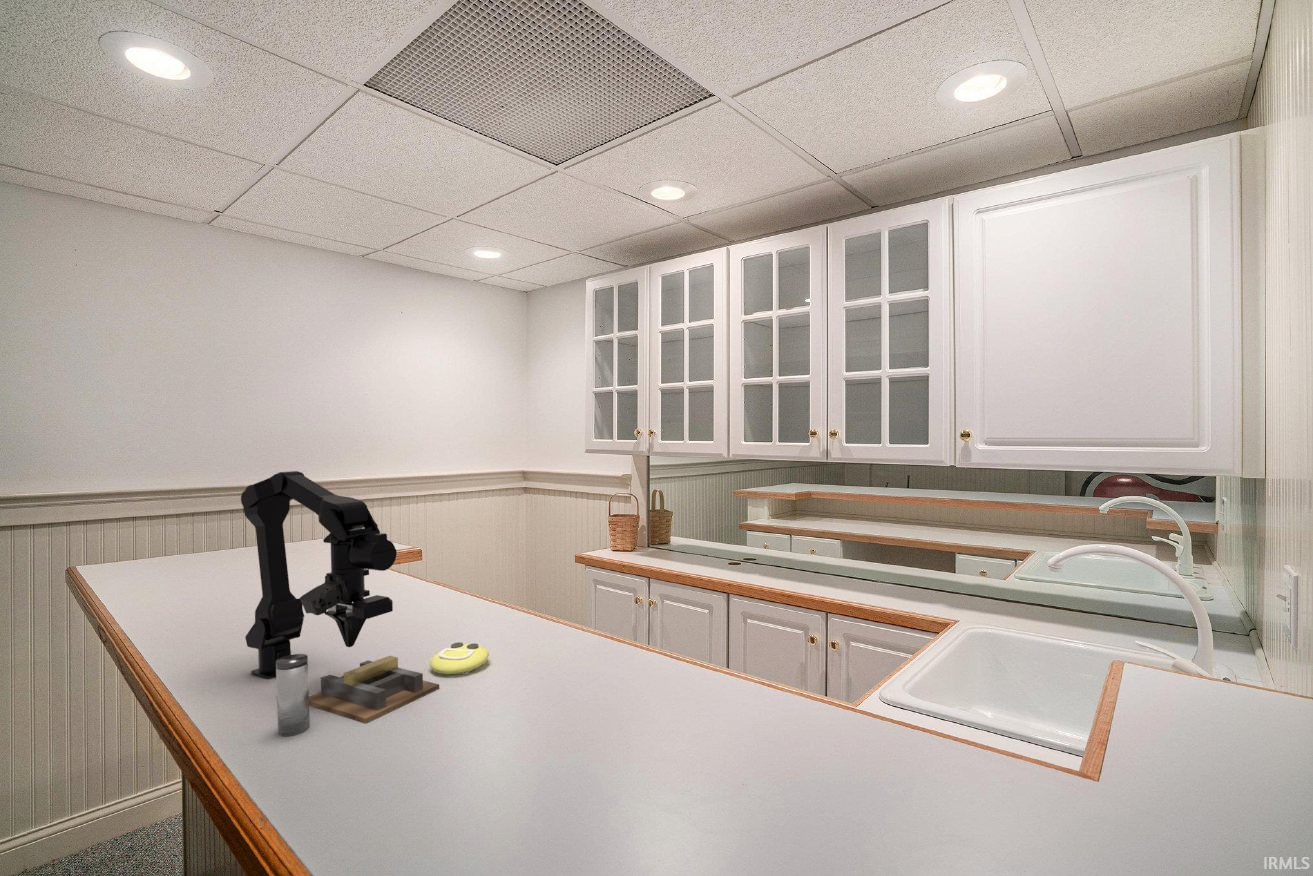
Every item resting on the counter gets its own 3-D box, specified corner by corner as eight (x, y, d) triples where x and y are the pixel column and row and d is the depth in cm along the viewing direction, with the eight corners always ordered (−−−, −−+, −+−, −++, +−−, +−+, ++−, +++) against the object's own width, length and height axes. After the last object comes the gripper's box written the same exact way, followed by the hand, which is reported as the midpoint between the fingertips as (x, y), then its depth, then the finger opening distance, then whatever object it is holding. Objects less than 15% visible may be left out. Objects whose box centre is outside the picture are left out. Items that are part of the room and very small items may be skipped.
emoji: (471, 663, 125) (497, 639, 137) (417, 661, 127) (447, 637, 139) (472, 682, 125) (499, 656, 137) (418, 679, 128) (449, 654, 139)
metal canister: (272, 732, 104) (270, 661, 104) (299, 721, 108) (297, 652, 108) (288, 738, 102) (286, 665, 102) (315, 727, 106) (313, 656, 106)
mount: (302, 703, 116) (301, 682, 116) (377, 673, 130) (377, 654, 130) (365, 723, 107) (365, 701, 107) (439, 688, 121) (438, 669, 121)
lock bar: (344, 683, 115) (343, 672, 115) (389, 665, 123) (389, 655, 123) (352, 686, 113) (352, 675, 113) (398, 667, 122) (397, 657, 122)
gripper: (277, 570, 119) (279, 652, 119) (339, 580, 110) (342, 669, 110) (332, 559, 128) (334, 635, 129) (393, 567, 119) (395, 648, 120)
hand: (349, 646), depth 121 cm, fingers closed
